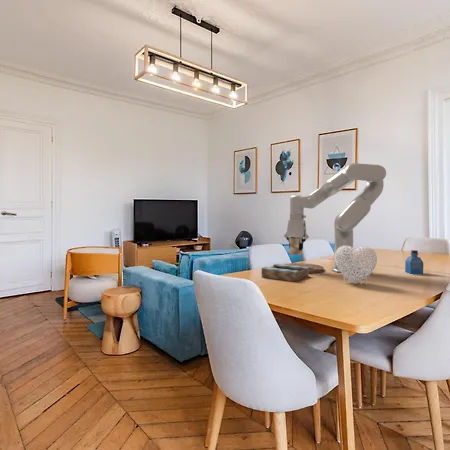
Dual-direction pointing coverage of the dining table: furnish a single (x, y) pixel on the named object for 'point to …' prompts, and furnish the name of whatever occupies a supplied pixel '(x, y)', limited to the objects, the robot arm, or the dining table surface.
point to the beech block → (295, 246)
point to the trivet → (312, 267)
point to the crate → (285, 272)
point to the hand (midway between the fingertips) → (296, 249)
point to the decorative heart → (355, 263)
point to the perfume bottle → (414, 263)
